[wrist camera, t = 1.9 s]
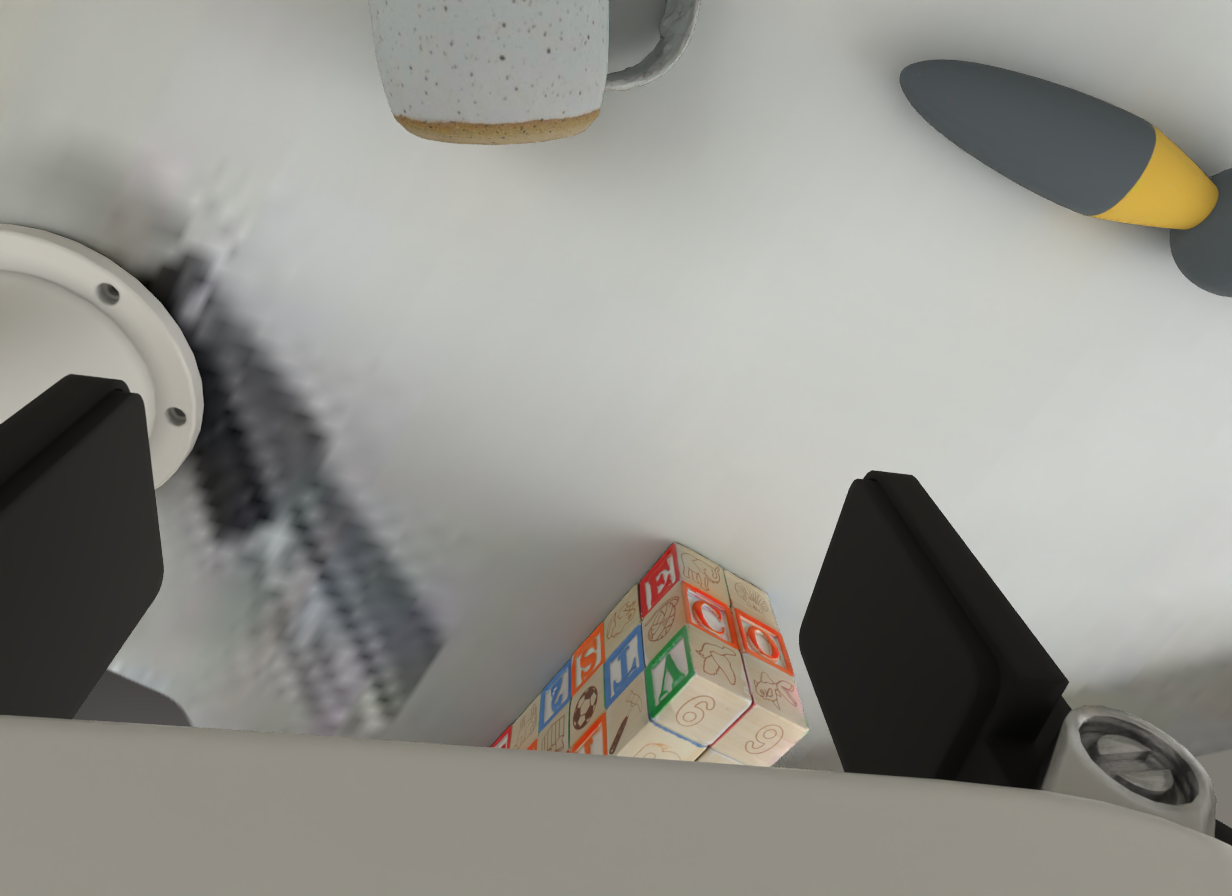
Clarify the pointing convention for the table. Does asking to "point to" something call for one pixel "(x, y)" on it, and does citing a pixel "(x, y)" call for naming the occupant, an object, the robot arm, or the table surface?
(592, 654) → the stack of blocks
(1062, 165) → the paintbrush
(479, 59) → the ceramic mug
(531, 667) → the table surface
